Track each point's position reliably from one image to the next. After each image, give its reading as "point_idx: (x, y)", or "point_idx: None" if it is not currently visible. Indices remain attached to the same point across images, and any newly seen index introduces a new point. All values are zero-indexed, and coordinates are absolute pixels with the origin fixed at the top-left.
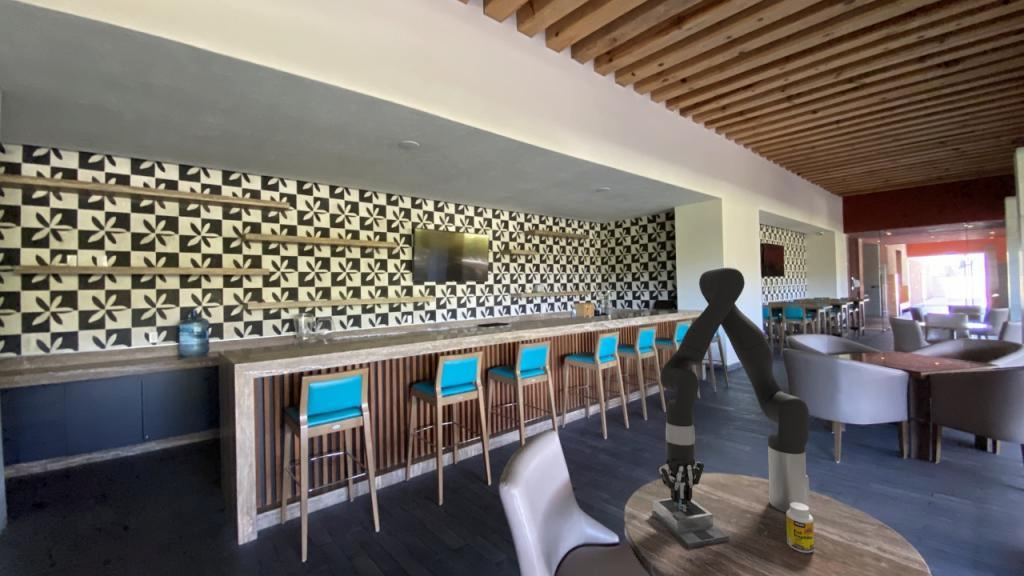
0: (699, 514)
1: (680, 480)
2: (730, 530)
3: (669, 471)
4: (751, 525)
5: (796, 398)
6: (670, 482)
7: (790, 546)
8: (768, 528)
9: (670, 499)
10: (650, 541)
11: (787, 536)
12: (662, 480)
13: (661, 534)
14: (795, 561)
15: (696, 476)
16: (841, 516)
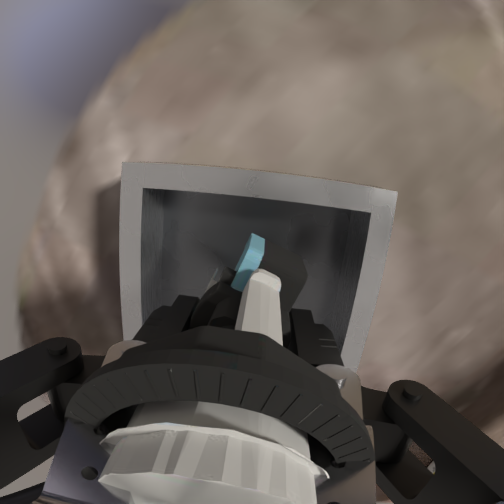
0: (334, 327)
1: None
2: (386, 384)
3: (92, 380)
4: (467, 375)
5: None
6: (56, 446)
7: (429, 466)
8: (482, 396)
9: (246, 194)
10: (52, 319)
11: None
12: (10, 360)
13: (103, 306)
14: (380, 492)
15: (395, 502)
16: None
